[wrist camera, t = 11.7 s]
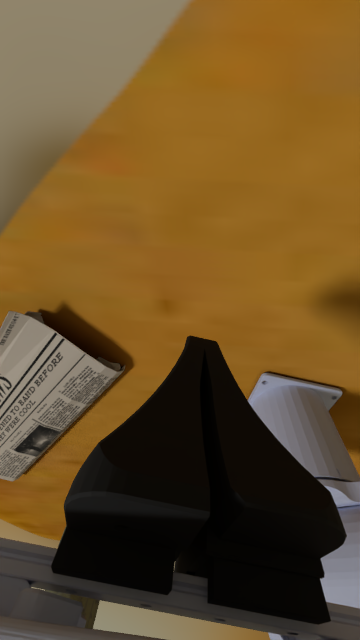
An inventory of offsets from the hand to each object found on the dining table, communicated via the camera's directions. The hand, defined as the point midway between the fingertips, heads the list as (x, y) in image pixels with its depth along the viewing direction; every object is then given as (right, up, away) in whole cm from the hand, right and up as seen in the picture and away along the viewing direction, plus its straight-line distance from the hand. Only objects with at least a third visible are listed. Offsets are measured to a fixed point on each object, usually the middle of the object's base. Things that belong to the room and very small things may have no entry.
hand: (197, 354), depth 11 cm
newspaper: (-21, -9, +21) cm, 31 cm away
